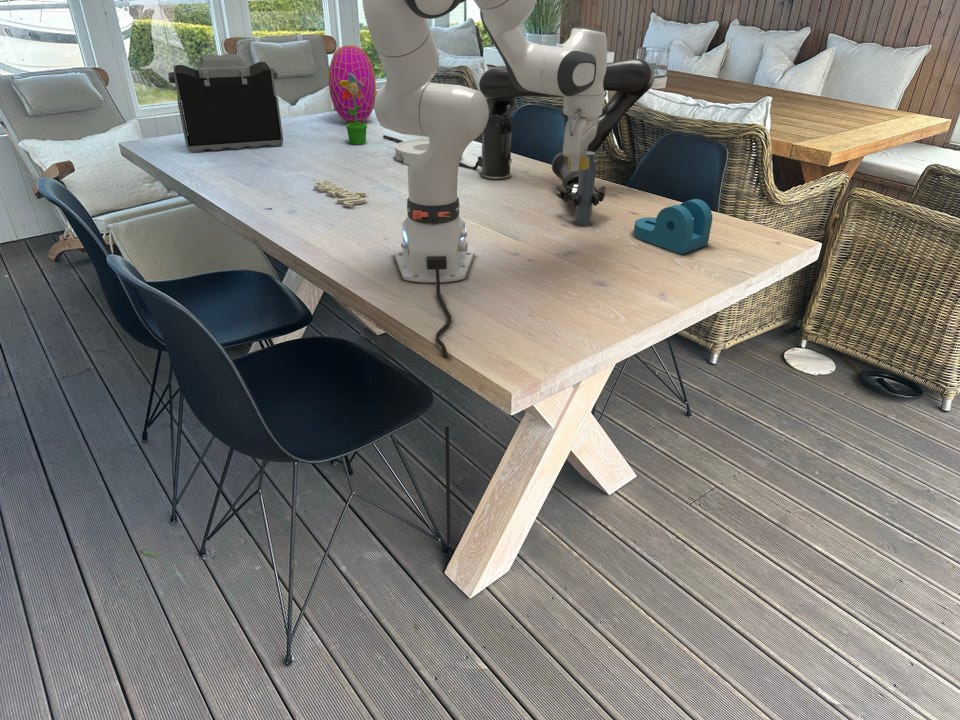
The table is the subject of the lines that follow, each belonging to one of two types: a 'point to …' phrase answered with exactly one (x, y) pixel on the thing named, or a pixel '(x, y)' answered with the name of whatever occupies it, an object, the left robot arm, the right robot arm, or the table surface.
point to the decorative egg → (361, 68)
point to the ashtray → (410, 149)
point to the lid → (581, 162)
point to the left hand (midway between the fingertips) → (578, 167)
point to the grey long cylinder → (586, 192)
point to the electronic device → (227, 103)
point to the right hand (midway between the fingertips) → (586, 202)
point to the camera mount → (677, 227)
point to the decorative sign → (340, 193)
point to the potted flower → (354, 129)
